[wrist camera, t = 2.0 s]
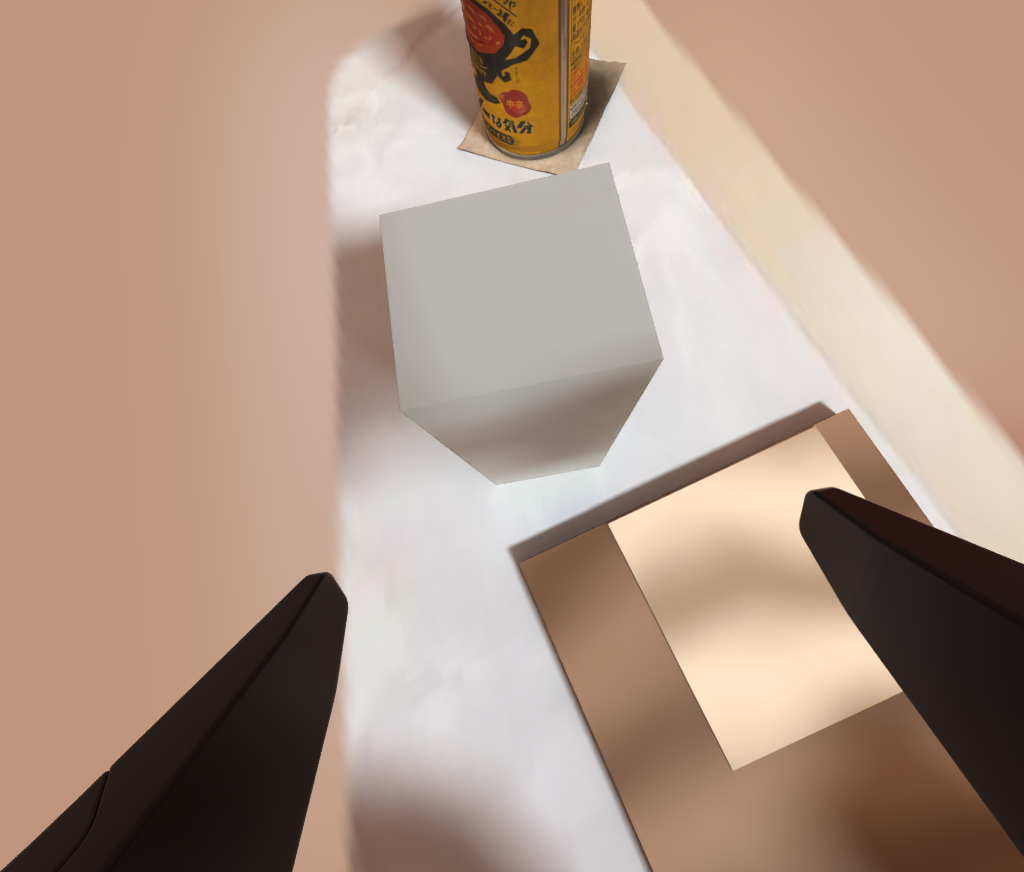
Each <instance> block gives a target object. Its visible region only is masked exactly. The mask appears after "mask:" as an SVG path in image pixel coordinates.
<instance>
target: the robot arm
mask: <svg viewBox="0 0 1024 872" xmlns="http://www.w3.org/2000/svg"><path fill="white" fill-rule="evenodd" d="M799 530H800V533H801V536H802V538H803V539H804V541H805V543H806V545H807V546H808V548H809V550H810V551H811V553H812V555H813V557H814V558H815V560H816V562H817V563H818V565H819V567H820V569H821V570H822V572H823V574H824V575H825V577H826V579H827V581H828V582H829V584H830V586H831V587H832V589H833V591H834V593H835V594H836V596H837V598H838V600H839V601H840V603H841V604H842V606H843V608H844V609H845V611H846V612H847V614H848V616H849V617H850V618H851V620H852V621H853V623H854V624H855V626H856V627H857V629H858V630H859V631H860V633H861V634H862V635H863V637H864V638H865V640H866V641H867V642H868V644H869V645H870V646H871V648H872V649H873V651H874V652H875V653H876V655H877V656H878V658H879V659H880V660H881V662H882V663H883V664H884V666H885V667H886V669H887V670H888V671H889V673H890V674H891V676H892V677H893V678H894V680H895V681H896V682H897V684H898V685H899V687H900V688H901V689H902V691H903V692H904V693H905V695H906V696H907V698H908V699H909V700H910V702H911V703H912V705H913V706H914V707H915V709H916V710H917V711H918V713H919V714H920V716H921V717H922V718H923V720H924V721H925V722H926V724H927V725H928V727H929V728H930V729H931V731H932V732H933V734H934V735H935V736H936V738H937V739H938V740H939V742H940V743H941V745H942V746H943V747H944V749H945V750H946V752H947V753H948V754H949V756H950V757H951V758H952V760H953V761H954V763H955V764H956V765H957V767H958V768H959V769H960V771H961V772H962V774H963V775H964V776H965V778H966V779H967V781H968V782H969V783H970V785H971V786H972V787H973V789H974V790H975V792H976V793H977V794H978V796H979V797H980V799H981V800H982V801H983V803H984V804H985V805H986V807H987V808H988V810H989V811H990V812H991V814H992V815H993V816H994V818H995V819H996V821H997V822H998V823H999V825H1000V826H1001V828H1002V829H1003V830H1004V832H1005V833H1006V834H1007V836H1008V837H1009V839H1010V840H1011V841H1012V843H1013V844H1014V845H1015V847H1016V848H1017V850H1018V851H1019V852H1020V854H1021V855H1022V857H1023V858H1024V564H1022V563H1019V562H1017V561H1015V560H1012V559H1010V558H1007V557H1005V556H1002V555H1000V554H998V553H995V552H993V551H990V550H988V549H985V548H983V547H980V546H978V545H976V544H973V543H971V542H968V541H966V540H963V539H961V538H958V537H956V536H954V535H951V534H949V533H946V532H944V531H941V530H939V529H937V528H934V527H932V526H929V525H927V524H924V523H922V522H919V521H917V520H915V519H912V518H910V517H907V516H905V515H902V514H900V513H897V512H895V511H893V510H890V509H888V508H885V507H883V506H880V505H878V504H876V503H873V502H871V501H868V500H866V499H863V498H861V497H858V496H856V495H854V494H851V493H849V492H846V491H844V490H841V489H839V488H836V487H825V488H819V489H813V490H810V491H808V492H807V493H806V494H805V497H804V502H803V506H802V511H801V515H800V519H799ZM347 614H348V601H347V598H346V596H345V594H344V593H343V591H342V590H341V588H340V586H339V585H338V583H337V582H336V580H335V579H334V577H333V576H332V574H330V573H328V572H323V573H317V574H311V575H308V576H306V577H305V578H304V579H303V580H302V581H301V582H299V583H298V585H297V586H295V587H294V588H293V589H292V590H291V591H290V592H289V593H288V594H287V595H286V596H285V597H284V598H283V599H282V600H281V601H280V602H279V603H278V604H277V605H276V606H275V607H274V608H273V609H272V610H271V611H270V612H269V613H268V614H267V615H266V616H265V617H264V618H263V619H262V620H261V621H260V622H259V623H258V624H256V625H255V626H254V627H253V628H252V629H251V630H250V631H249V632H248V633H247V634H246V635H245V636H244V637H243V638H242V639H241V640H240V641H239V642H238V643H237V644H236V645H235V646H234V647H233V648H232V649H231V650H230V651H229V652H228V653H227V654H226V655H225V656H224V657H223V658H222V659H221V660H220V661H219V662H217V663H216V664H215V665H214V666H213V668H211V669H210V670H209V671H208V672H207V673H206V674H205V675H204V676H203V677H202V678H201V679H200V680H199V681H198V682H197V683H196V684H195V685H194V686H193V687H192V688H191V689H190V690H189V691H188V692H187V693H186V694H185V695H184V696H183V697H182V698H181V699H180V700H178V701H177V702H176V703H175V704H174V705H173V706H172V707H171V708H170V709H169V710H168V711H167V712H166V713H165V714H164V715H163V716H162V717H161V718H160V719H159V720H158V721H157V722H156V723H155V724H154V725H153V726H152V727H151V728H150V729H149V730H148V731H147V732H146V733H145V734H144V735H143V736H142V737H141V738H139V739H138V741H136V742H135V743H134V744H133V746H131V747H130V748H129V749H128V750H127V751H126V752H125V753H124V754H123V755H122V756H121V757H120V758H119V759H118V760H117V761H116V762H115V763H114V764H113V765H112V766H111V768H110V771H107V772H105V773H104V774H102V776H100V777H99V778H98V779H97V780H96V781H95V782H94V783H93V784H92V785H91V786H90V787H89V788H88V789H87V790H86V791H85V792H84V793H83V794H82V795H81V796H80V797H79V798H78V799H77V800H76V801H75V802H74V803H73V804H72V805H71V806H70V807H69V808H67V809H66V811H64V812H63V813H62V814H61V815H60V816H59V817H58V818H57V819H56V820H55V821H54V822H53V823H52V824H51V825H50V826H49V827H47V829H45V830H44V832H42V833H41V834H40V835H39V836H38V837H37V838H36V839H35V840H34V841H33V842H32V843H31V844H30V845H29V846H27V847H26V848H25V849H24V850H23V851H22V852H21V853H20V854H19V855H18V856H17V857H15V858H14V859H13V860H12V861H11V862H10V863H9V864H8V865H7V866H6V867H5V868H3V870H1V871H0V872H292V870H293V867H294V862H295V858H296V854H297V850H298V846H299V841H300V838H301V834H302V830H303V826H304V822H305V817H306V813H307V809H308V805H309V801H310V797H311V793H312V789H313V785H314V781H315V776H316V772H317V768H318V764H319V760H320V756H321V752H322V747H323V744H324V739H325V735H326V731H327V727H328V723H329V719H330V715H331V711H332V707H333V703H334V698H335V694H336V689H337V683H338V677H339V671H340V664H341V657H342V650H343V642H344V635H345V628H346V621H347Z"/></svg>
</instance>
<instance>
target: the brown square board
mask: <svg viewBox="0 0 1024 872" xmlns="http://www.w3.org/2000/svg"><path fill="white" fill-rule="evenodd" d="M825 487H836V488H839V489H841V490H844V491H846V492H849V493H851V494H854V495H856V496H858V497H861V498H863V499H866V500H868V501H871V502H873V503H876V504H878V505H880V506H883V507H885V508H888V509H890V510H893V511H895V512H897V513H900V514H902V515H905V516H907V517H910V518H912V519H915V520H917V521H919V522H922V523H924V524H927V525H929V526H932V527H933V525H932V524H931V522H930V521H929V520H928V518H927V517H926V515H925V514H924V513H923V511H922V510H921V509H920V507H919V506H918V504H917V503H916V502H915V500H914V499H913V497H912V496H911V495H910V493H909V492H908V490H907V489H906V488H905V486H904V485H903V483H902V482H901V481H900V479H899V478H898V477H897V475H896V474H895V472H894V471H893V470H892V468H891V467H890V465H889V464H888V463H887V461H886V460H885V458H884V457H883V456H882V454H881V453H880V451H879V450H878V449H877V447H876V446H875V445H874V443H873V442H872V440H871V439H870V438H869V436H868V435H867V433H866V432H865V431H864V429H863V428H862V426H861V425H860V424H859V422H858V421H857V419H856V418H855V417H854V415H853V414H852V413H851V411H850V410H849V409H847V410H845V411H842V412H840V413H838V414H835V415H833V416H831V417H829V418H827V419H825V420H823V421H820V422H818V423H816V424H814V425H812V426H810V427H808V428H806V429H803V430H801V431H799V432H797V433H795V434H793V435H791V436H789V437H786V438H784V439H782V440H780V441H778V442H776V443H774V444H772V445H769V446H767V447H765V448H763V449H761V450H759V451H757V452H755V453H752V454H750V455H748V456H746V457H744V458H742V459H740V460H738V461H735V462H733V463H731V464H729V465H727V466H725V467H723V468H721V469H718V470H716V471H714V472H712V473H710V474H708V475H706V476H704V477H701V478H699V479H697V480H695V481H693V482H691V483H689V484H687V485H684V486H682V487H680V488H678V489H676V490H674V491H672V492H670V493H667V494H665V495H663V496H661V497H659V498H657V499H655V500H653V501H650V502H648V503H646V504H644V505H642V506H640V507H638V508H636V509H633V510H631V511H629V512H627V513H625V514H623V515H621V516H619V517H616V518H614V519H612V520H610V521H608V522H606V523H604V524H601V525H599V526H597V527H595V528H593V529H591V530H589V531H587V532H584V533H582V534H580V535H578V536H576V537H574V538H572V539H570V540H567V541H565V542H563V543H561V544H559V545H557V546H555V547H553V548H550V549H548V550H546V551H544V552H542V553H540V554H538V555H536V556H533V557H531V558H529V559H527V560H525V561H523V562H521V563H519V565H520V567H521V570H522V572H523V574H524V577H525V579H526V581H527V583H528V586H529V588H530V590H531V593H532V595H533V597H534V599H535V602H536V604H537V606H538V609H539V611H540V613H541V616H542V618H543V620H544V622H545V625H546V627H547V629H548V632H549V634H550V636H551V638H552V641H553V643H554V645H555V648H556V650H557V652H558V654H559V657H560V659H561V661H562V664H563V666H564V668H565V671H566V673H567V675H568V677H569V680H570V682H571V684H572V687H573V689H574V691H575V693H576V696H577V698H578V700H579V703H580V705H581V707H582V709H583V712H584V714H585V716H586V719H587V721H588V723H589V726H590V728H591V730H592V732H593V735H594V737H595V739H596V742H597V744H598V746H599V748H600V751H601V753H602V755H603V758H604V760H605V762H606V764H607V767H608V769H609V771H610V774H611V776H612V778H613V781H614V783H615V785H616V787H617V790H618V792H619V794H620V797H621V799H622V801H623V803H624V806H625V808H626V810H627V813H628V815H629V817H630V819H631V822H632V824H633V826H634V829H635V831H636V833H637V835H638V838H639V840H640V842H641V845H642V847H643V849H644V852H645V854H646V856H647V858H648V861H649V863H650V865H651V868H652V870H653V872H1024V858H1023V857H1022V855H1021V854H1020V852H1019V851H1018V850H1017V848H1016V847H1015V845H1014V844H1013V843H1012V841H1011V840H1010V839H1009V837H1008V836H1007V834H1006V833H1005V832H1004V830H1003V829H1002V828H1001V826H1000V825H999V823H998V822H997V821H996V819H995V818H994V816H993V815H992V814H991V812H990V811H989V810H988V808H987V807H986V805H985V804H984V803H983V801H982V800H981V799H980V797H979V796H978V794H977V793H976V792H975V790H974V789H973V787H972V786H971V785H970V783H969V782H968V781H967V779H966V778H965V776H964V775H963V774H962V772H961V771H960V769H959V768H958V767H957V765H956V764H955V763H954V761H953V760H952V758H951V757H950V756H949V754H948V753H947V752H946V750H945V749H944V747H943V746H942V745H941V743H940V742H939V740H938V739H937V738H936V736H935V735H934V734H933V732H932V731H931V729H930V728H929V727H928V725H927V724H926V722H925V721H924V720H923V718H922V717H921V716H920V714H919V713H918V711H917V710H916V709H915V707H914V706H913V705H912V703H911V702H910V700H909V699H908V698H907V696H906V695H905V693H904V692H903V691H902V689H901V688H900V687H899V685H898V684H897V682H896V681H895V680H894V678H893V677H892V676H891V674H890V673H889V671H888V670H887V669H886V667H885V666H884V664H883V663H882V662H881V660H880V659H879V658H878V656H877V655H876V653H875V652H874V651H873V649H872V648H871V646H870V645H869V644H868V642H867V641H866V640H865V638H864V637H863V635H862V634H861V633H860V631H859V630H858V629H857V627H856V626H855V624H854V623H853V621H852V620H851V618H850V617H849V616H848V614H847V612H846V611H845V609H844V608H843V606H842V604H841V603H840V601H839V600H838V598H837V596H836V594H835V593H834V591H833V589H832V587H831V586H830V584H829V582H828V581H827V579H826V577H825V575H824V574H823V572H822V570H821V569H820V567H819V565H818V563H817V562H816V560H815V558H814V557H813V555H812V553H811V551H810V550H809V548H808V546H807V545H806V543H805V541H804V539H803V538H802V536H801V533H800V530H799V519H800V515H801V511H802V506H803V502H804V497H805V494H806V493H807V492H808V491H810V490H813V489H819V488H825Z"/></svg>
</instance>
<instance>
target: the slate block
mask: <svg viewBox="0 0 1024 872" xmlns="http://www.w3.org/2000/svg"><path fill="white" fill-rule="evenodd" d="M379 216H380V225H381V235H382V245H383V254H384V264H385V273H386V283H387V293H388V302H389V312H390V322H391V331H392V341H393V350H394V360H395V370H396V379H397V389H398V399H399V408H400V411H401V412H402V413H404V414H405V415H406V416H407V417H409V418H410V419H411V420H413V421H414V422H415V423H416V424H418V425H419V426H420V427H422V428H423V429H424V430H426V431H427V432H428V433H429V434H431V435H432V436H433V437H435V438H436V439H437V440H438V441H440V442H441V443H442V444H444V445H445V446H446V447H448V448H449V449H450V450H451V451H453V452H454V453H455V454H457V455H458V456H459V457H460V458H462V459H463V460H464V461H466V462H467V463H468V464H470V465H471V466H472V467H473V468H475V469H476V470H477V471H479V472H480V473H481V474H482V475H484V476H485V477H486V478H488V479H489V480H490V481H492V482H493V483H494V484H495V485H499V484H504V483H510V482H515V481H521V480H526V479H532V478H538V477H543V476H549V475H554V474H560V473H565V472H571V471H576V470H582V469H587V468H593V467H598V466H600V464H601V462H602V461H603V459H604V457H605V456H606V454H607V452H608V451H609V449H610V447H611V446H612V444H613V442H614V441H615V439H616V437H617V436H618V434H619V432H620V431H621V429H622V427H623V426H624V424H625V422H626V421H627V419H628V417H629V416H630V414H631V412H632V411H633V409H634V407H635V406H636V404H637V402H638V401H639V399H640V397H641V396H642V394H643V392H644V390H645V389H646V387H647V385H648V384H649V382H650V380H651V379H652V377H653V375H654V374H655V372H656V370H657V369H658V367H659V365H660V364H661V362H662V360H663V355H662V352H661V348H660V344H659V341H658V337H657V334H656V330H655V326H654V323H653V319H652V316H651V312H650V308H649V305H648V301H647V298H646V294H645V290H644V287H643V283H642V280H641V276H640V272H639V269H638V265H637V262H636V258H635V254H634V251H633V247H632V243H631V240H630V236H629V233H628V229H627V225H626V222H625V218H624V215H623V211H622V207H621V204H620V200H619V197H618V193H617V189H616V186H615V182H614V179H613V175H612V171H611V168H610V164H609V163H605V164H600V165H596V166H592V167H587V168H583V169H579V170H574V171H570V172H566V173H561V174H557V175H553V176H548V177H544V178H540V179H535V180H531V181H527V182H522V183H518V184H514V185H509V186H505V187H501V188H496V189H492V190H488V191H483V192H479V193H475V194H470V195H466V196H462V197H457V198H453V199H449V200H444V201H440V202H436V203H431V204H427V205H423V206H418V207H414V208H409V209H405V210H401V211H396V212H392V213H388V214H383V215H379Z"/></svg>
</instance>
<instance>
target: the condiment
mask: <svg viewBox="0 0 1024 872" xmlns="http://www.w3.org/2000/svg"><path fill="white" fill-rule="evenodd" d="M460 1H461V4H462V11H463V17H464V21H465V27H466V36H467V39H468V42H469V47H470V54H471V61H472V67H473V69H474V77H475V81H476V85H477V90H478V96H479V101H480V107H481V109H480V110H479V112H478V114H477V116H476V118H475V120H474V122H473V124H472V126H471V128H470V129H469V130H468V132H467V135H466V137H465V139H464V140H463V142H462V144H461V145H460V146H459V147H458V148H460V149H462V150H467V151H470V152H474V153H476V154H479V155H484V156H486V157H489V158H493V159H496V160H500V161H503V162H506V163H510V164H515V165H519V166H522V167H527V168H530V169H535V170H541V171H544V172H546V171H548V172H551V173H554V174H561V173H566V172H570V171H574V170H577V168H578V166H579V164H580V162H581V160H582V158H583V156H584V154H585V152H586V149H587V147H588V145H589V144H590V141H591V139H592V137H593V135H594V132H595V130H596V129H597V126H598V124H599V121H600V119H601V117H602V115H603V112H604V110H605V108H606V105H607V104H608V102H609V100H610V98H611V96H612V94H613V92H614V90H615V87H616V85H617V82H618V80H619V77H620V75H621V73H622V71H623V69H624V67H625V65H626V63H619V62H606V61H599V60H594V59H589V48H590V29H591V9H592V0H460ZM586 103H588V104H587V105H586Z"/></svg>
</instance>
